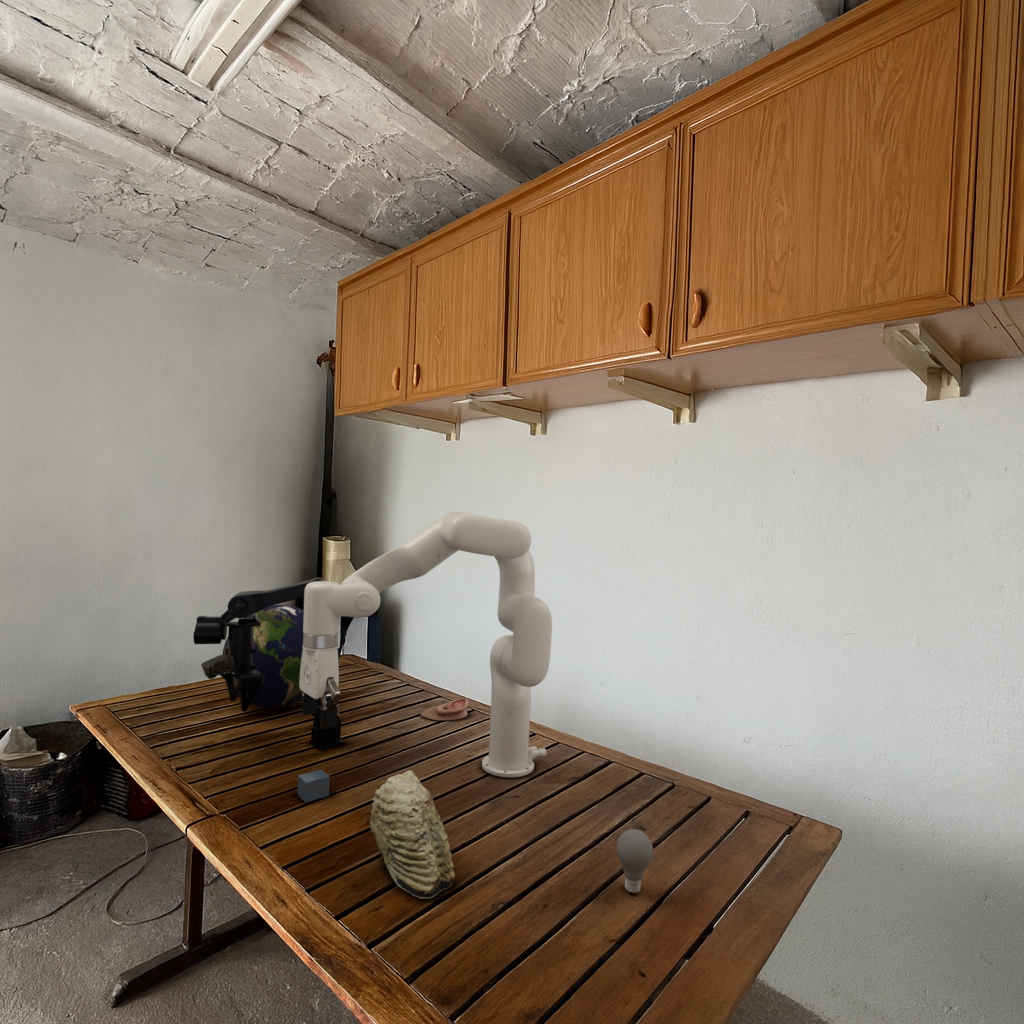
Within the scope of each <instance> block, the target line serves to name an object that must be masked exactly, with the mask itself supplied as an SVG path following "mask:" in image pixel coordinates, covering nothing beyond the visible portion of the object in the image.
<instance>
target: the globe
mask: <svg viewBox="0 0 1024 1024" xmlns="http://www.w3.org/2000/svg"><path fill="white" fill-rule="evenodd" d="M254 615H256V616H257V617H258V619H260V620H261V621H262V624H261V625H260V626H254V631H253V647H254V648H256V650H255V652H254V653H253V659H252V663H253V664H255V669H250V670H249V671H251V670H257V671H259V672H260V673H261V674H263V675H264V676H265V677H264V684H263V685H262V686H261V687H260V688H259V690H258V691H257V693H256V695H255V696H254V698H253V700H252V702H251V704H250V706H254V707H258V708H262V709H282V708H285V707H289V706H293V705H295V704H298V703H299V702H301V701H302V698H303V697H305V696H302V690H301V689H300V687H299V680H300V667H301V658H302V652H303V620H304V609H302V608H299V607H297V606H292V605H290V604H289V605H288V604H276V605H272V606H269V607H266V608H264V609H262V610H260V611H258V612H256V613H254V614H252V615H249V616H247V617H244V618H253V617H254ZM225 647H228V636H226V639H225V642H224V645H223V649H222V654H224V649H225ZM222 654H221V655H222ZM237 697H238V698H239V699H240V694H239V692H238V695H237Z"/></svg>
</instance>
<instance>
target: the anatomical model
mask: <svg viewBox="0 0 1024 1024" xmlns="http://www.w3.org/2000/svg"><path fill="white" fill-rule="evenodd" d="M468 706H469V700H468V698H467V697H463V698H462V697H461V698H458V699H454V700H451V701H448V702H445V703H441V704H440V705H436V706H433V707H432V706H431V707H429V708H427V709H424V710H423V711H421V712H420V713H419V714H420V716H421V717H423V718H426V719H429V720H432V721H453V720H460V719H464V718H466V717H467V716H468V711H467V708H468Z"/></svg>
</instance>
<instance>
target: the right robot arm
mask: <svg viewBox="0 0 1024 1024" xmlns="http://www.w3.org/2000/svg"><path fill="white" fill-rule="evenodd" d="M531 545H532V535H531V532H530V530H529V528H528V527H527V526H525V525H524V524H523V523H522V522H519V521H515V520H509V519H502V518H496V517H490V516H484V515H480V514H474V513H471V512H462V511H450V512H448V513H446V514H444V515H442V516H440V517H439V518H438V519H437V520H435V521H434V522H432V523H431V524H429V525H428V526H427V527H425V528H424V529H422V530H420V531H419V532H418V533H416V534H415V535H414V536H412V537H411V538H409V539H408V540H406V541H404V542H403V543H402V544H400V545H397V546H396V547H394V548H391V550H389V551H387V552H385V553H384V554H382V555H380V556H378V557H375V558H374V559H373V560H371V561H369V562H368V563H366V564H364V565H363V566H362V567H359V569H357V570H355V572H353V573H352V574H350V575H349V576H348V577H346V578H345V579H344V580H342V582H341V583H339V582H335V581H331V580H330V581H329V580H326V581H316V582H311V583H308V584H307V585H306V587H305V592H304V598H303V610H304V620H303V652H302V658H301V667H300V680H299V687H300V689H301V690H302V696H305V697H303V698H302V700H301V701H302V703H301V715H302V716H312V715H311V714H316V713H317V702H318V699H319V698H321V702H322V706H323V709H322V710H321V729H328V728H332V727H336V720H337V708H338V705H339V703H340V698H341V697H340V696H341V691H340V689H339V684H340V683H339V682H340V681H339V680H340V675H339V674H340V673H339V672H340V671H339V669H340V667H339V663H338V650H337V649H338V648H339V647H340V622H341V616H347V617H354V618H356V619H357V618H358V619H360V618H368V617H370V616H372V615H373V614H375V613H376V612H377V610H378V609H379V608H380V606H381V595H380V594H381V593H383V592H384V591H386V590H387V589H389V588H391V587H392V586H394V585H396V584H398V583H401V582H404V581H408V580H409V581H410V580H414V579H417V578H420V577H423V576H425V575H426V574H428V573H429V572H431V571H432V570H433V569H435V568H436V567H438V566H439V565H441V563H443V562H444V561H446V560H447V559H449V558H450V557H452V556H453V555H454V554H456V553H457V552H458V551H459V552H460V551H461V552H465V553H471V554H476V555H481V556H488V557H489V556H490V557H494V558H495V560H496V562H497V565H498V571H499V585H498V586H499V588H498V600H497V601H498V602H497V619H498V622H499V623H500V625H501V626H502V627H503V628H505V629H506V630H508V631H509V632H512V634H508V635H503V636H501V637H498V639H496V641H495V642H494V643H493V645H492V647H491V649H490V653H489V667H490V679H491V695H490V696H491V698H490V699H491V700H490V718H489V740H488V754H487V755H486V756H484V757H483V758H482V760H481V761H482V762H481V767H482V769H483V770H484V771H485V772H486V773H488V774H490V775H491V776H496V777H499V778H512V779H513V778H520V777H524V776H527V775H529V774H531V773H532V772H533V771H534V769H535V762H534V760H536V758H544V757H547V753H548V752H547V749H546V748H544V747H543V748H537V746H535V745H534V746H530V723H531V722H530V721H531V703H532V691H531V690H532V689H531V688H532V687H533V688H534V687H535V686H538V685H539V684H541V683H542V682H544V680H545V679H546V677H547V674H548V672H549V669H550V664H551V663H550V662H551V650H552V638H553V637H552V636H553V635H552V634H553V618H552V613H551V610H550V608H549V606H548V605H547V603H546V602H545V601H544V600H542V599H541V598H538V597H536V567H535V562H534V558H533V555H532V552H531V550H530V548H531ZM324 693H328V694H324ZM328 698H331V699H329V701H328V702H326V699H328Z"/></svg>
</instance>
